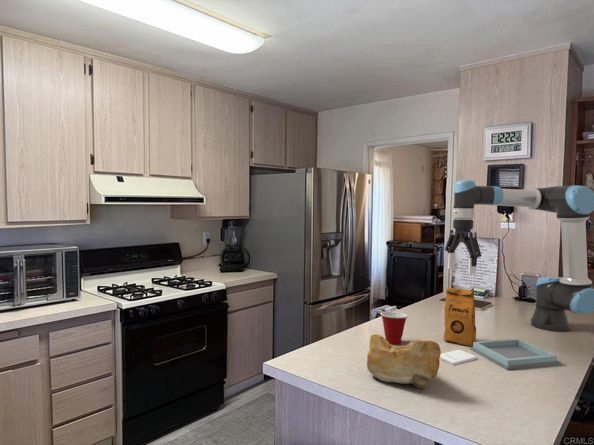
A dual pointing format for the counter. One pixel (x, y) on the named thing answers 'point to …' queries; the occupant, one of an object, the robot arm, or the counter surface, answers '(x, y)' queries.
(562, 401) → the counter surface
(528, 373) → the counter surface
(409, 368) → the rough brown rock
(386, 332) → the plastic cup
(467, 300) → the coffee package
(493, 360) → the base
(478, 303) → the hardcover book
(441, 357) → the external hard drive
